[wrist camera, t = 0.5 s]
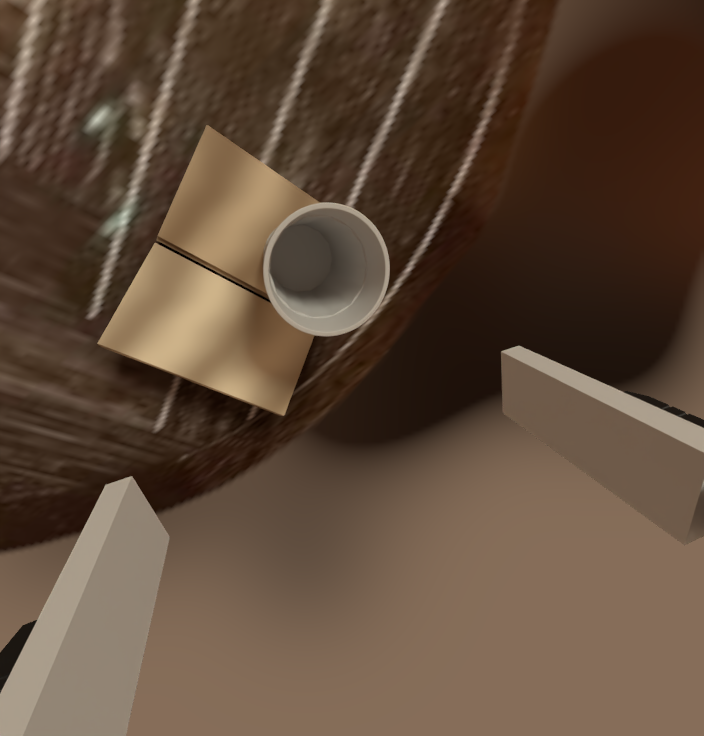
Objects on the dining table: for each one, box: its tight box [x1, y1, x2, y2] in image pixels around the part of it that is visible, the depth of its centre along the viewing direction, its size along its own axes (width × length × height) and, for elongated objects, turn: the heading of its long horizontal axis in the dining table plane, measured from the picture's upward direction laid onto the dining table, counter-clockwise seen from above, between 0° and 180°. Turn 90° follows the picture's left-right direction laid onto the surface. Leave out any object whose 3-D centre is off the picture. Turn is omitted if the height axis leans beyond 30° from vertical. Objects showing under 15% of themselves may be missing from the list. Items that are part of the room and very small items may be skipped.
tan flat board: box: [157, 125, 319, 300], centre depth 31 cm, size 15×9×1 cm, turn 58°
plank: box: [97, 243, 314, 416], centre depth 31 cm, size 15×9×1 cm, turn 58°
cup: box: [263, 203, 390, 336], centre depth 27 cm, size 8×8×12 cm
